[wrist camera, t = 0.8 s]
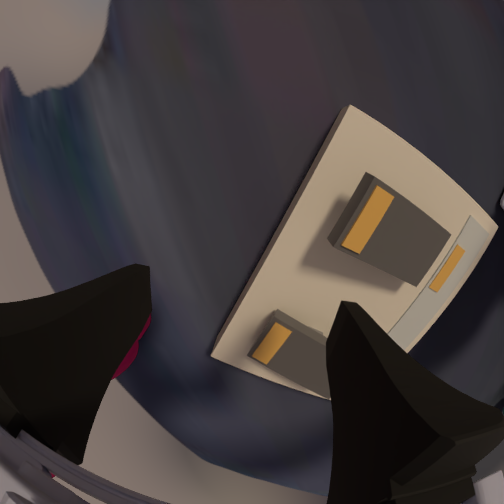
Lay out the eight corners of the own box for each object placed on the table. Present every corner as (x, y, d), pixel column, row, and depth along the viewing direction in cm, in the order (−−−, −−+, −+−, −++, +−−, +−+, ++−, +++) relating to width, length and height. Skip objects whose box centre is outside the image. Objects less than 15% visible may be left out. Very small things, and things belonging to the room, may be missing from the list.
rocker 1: (363, 357, 17) (363, 367, 16) (329, 390, 19) (328, 400, 18) (277, 308, 18) (273, 317, 17) (250, 347, 19) (246, 356, 18)
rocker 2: (442, 227, 14) (452, 235, 13) (408, 278, 16) (417, 288, 15) (365, 171, 12) (376, 176, 12) (326, 238, 14) (333, 248, 13)
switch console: (481, 216, 16) (503, 229, 13) (348, 386, 24) (351, 410, 21) (341, 108, 15) (352, 103, 12) (217, 336, 23) (208, 361, 20)
